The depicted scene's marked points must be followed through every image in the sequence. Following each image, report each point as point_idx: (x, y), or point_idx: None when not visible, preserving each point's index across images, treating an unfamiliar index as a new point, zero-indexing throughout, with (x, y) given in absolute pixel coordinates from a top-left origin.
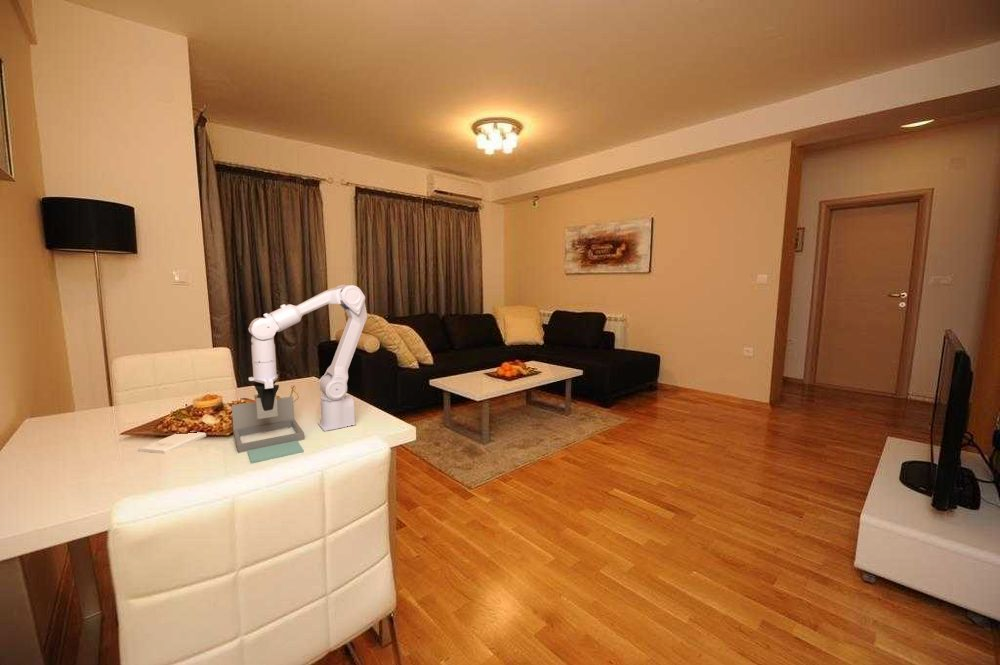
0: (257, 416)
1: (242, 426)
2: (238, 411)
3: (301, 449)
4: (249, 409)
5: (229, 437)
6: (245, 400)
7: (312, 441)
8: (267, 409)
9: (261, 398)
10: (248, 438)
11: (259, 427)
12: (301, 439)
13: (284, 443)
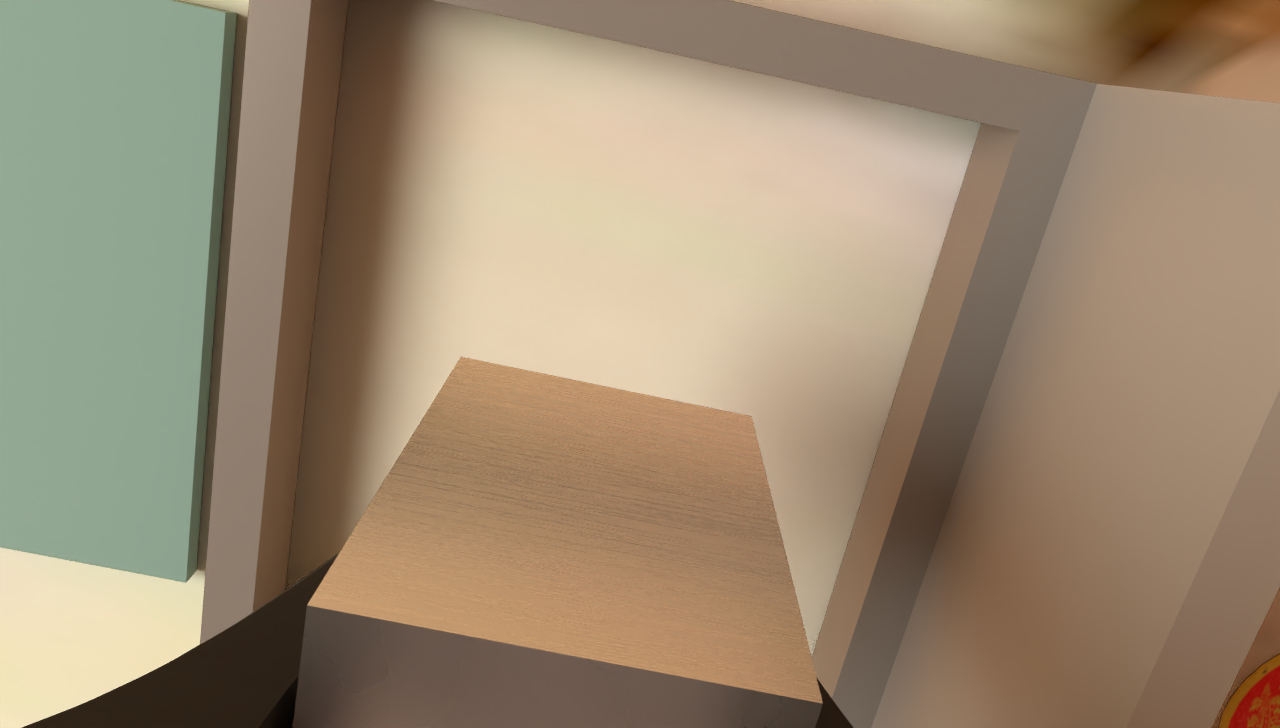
0: (449, 378)
1: (1062, 219)
2: (1236, 230)
3: None
4: (1155, 437)
5: (1058, 13)
6: None
7: (115, 685)
8: None
9: (101, 702)
10: (791, 200)
11: (920, 412)
12: None
13: (178, 443)
